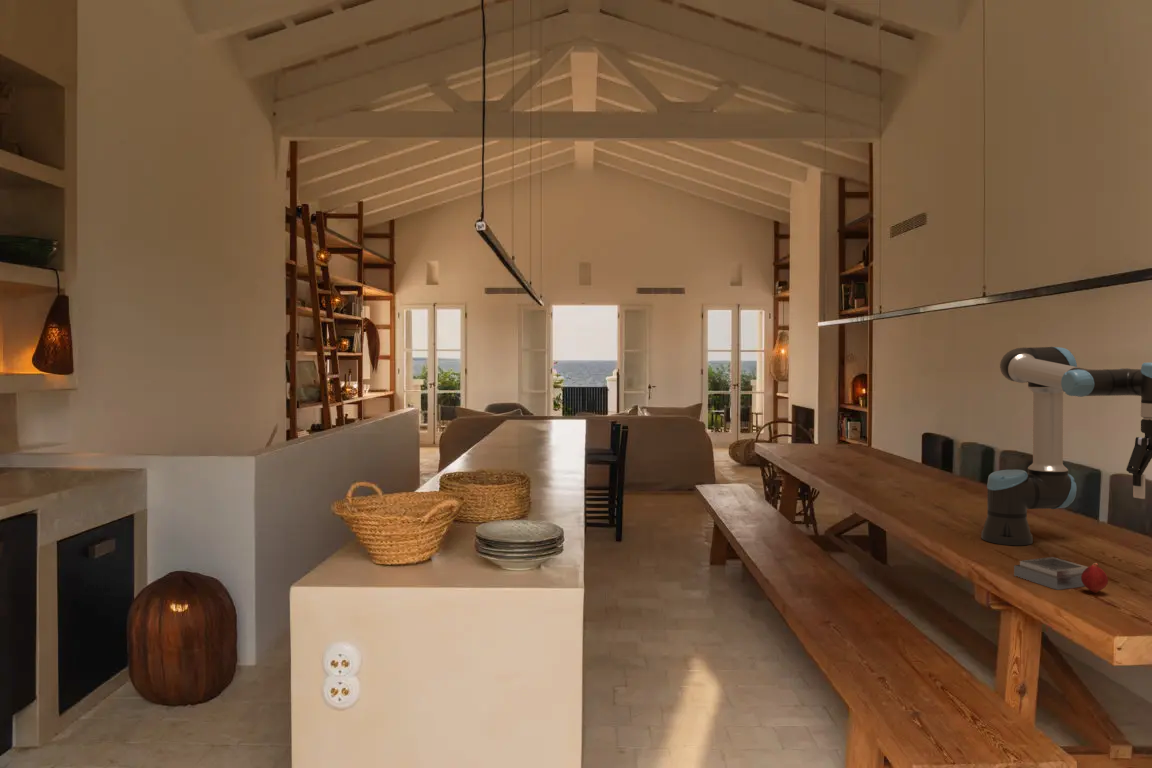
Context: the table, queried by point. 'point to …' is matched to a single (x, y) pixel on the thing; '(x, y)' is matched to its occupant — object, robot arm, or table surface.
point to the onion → (1094, 578)
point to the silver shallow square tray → (1051, 572)
